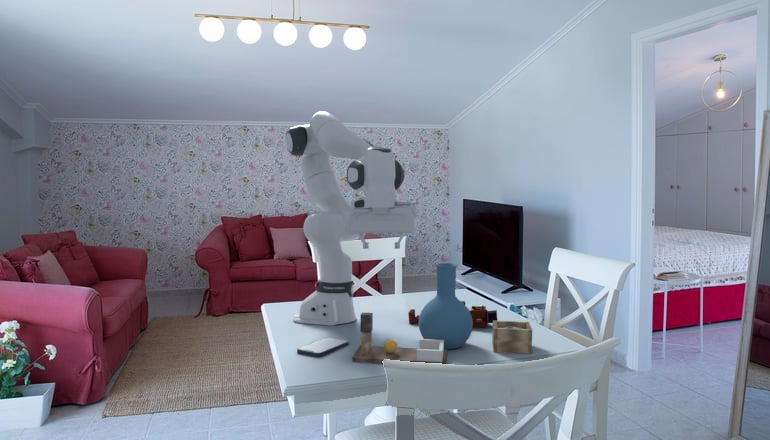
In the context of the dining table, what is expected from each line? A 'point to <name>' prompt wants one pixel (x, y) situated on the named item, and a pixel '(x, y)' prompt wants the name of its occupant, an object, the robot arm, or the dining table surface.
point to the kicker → (366, 332)
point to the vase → (446, 312)
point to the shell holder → (512, 337)
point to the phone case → (322, 347)
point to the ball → (390, 346)
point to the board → (391, 355)
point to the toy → (477, 313)
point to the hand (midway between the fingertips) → (381, 248)
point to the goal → (430, 350)
